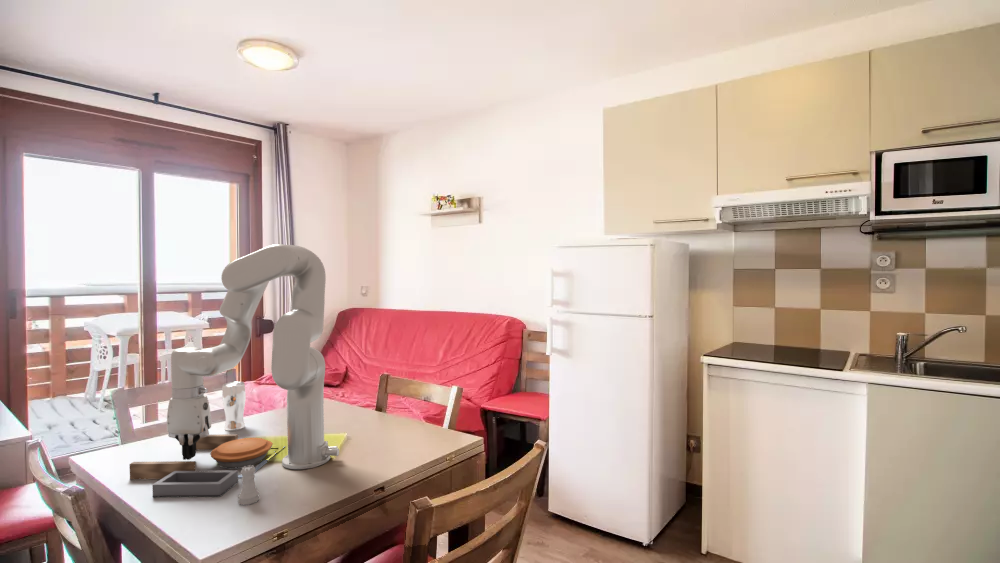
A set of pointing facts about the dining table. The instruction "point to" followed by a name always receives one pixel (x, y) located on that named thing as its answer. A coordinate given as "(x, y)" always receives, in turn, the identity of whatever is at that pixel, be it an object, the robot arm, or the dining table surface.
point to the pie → (241, 452)
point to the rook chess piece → (248, 487)
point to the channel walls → (165, 468)
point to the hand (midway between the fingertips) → (189, 457)
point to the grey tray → (195, 484)
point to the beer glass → (234, 405)
